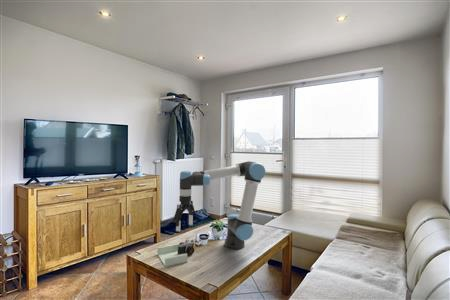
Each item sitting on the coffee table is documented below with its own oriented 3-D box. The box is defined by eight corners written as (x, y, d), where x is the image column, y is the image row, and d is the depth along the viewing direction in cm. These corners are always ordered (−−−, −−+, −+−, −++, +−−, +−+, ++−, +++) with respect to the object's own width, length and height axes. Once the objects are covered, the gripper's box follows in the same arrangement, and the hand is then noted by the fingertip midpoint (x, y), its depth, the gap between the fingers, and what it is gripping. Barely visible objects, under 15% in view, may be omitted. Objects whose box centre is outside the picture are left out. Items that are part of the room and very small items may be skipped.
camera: (183, 258, 157) (185, 244, 158) (175, 253, 162) (178, 240, 163) (197, 254, 167) (199, 241, 167) (190, 250, 172) (192, 237, 173)
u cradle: (177, 250, 169) (177, 243, 169) (187, 262, 153) (187, 254, 153) (157, 254, 162) (157, 247, 162) (165, 267, 146) (165, 258, 146)
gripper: (191, 191, 168) (190, 221, 169) (168, 198, 146) (167, 232, 146) (200, 192, 165) (199, 223, 165) (178, 199, 143) (177, 235, 143)
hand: (184, 227), depth 156 cm, fingers open, 13 cm apart
